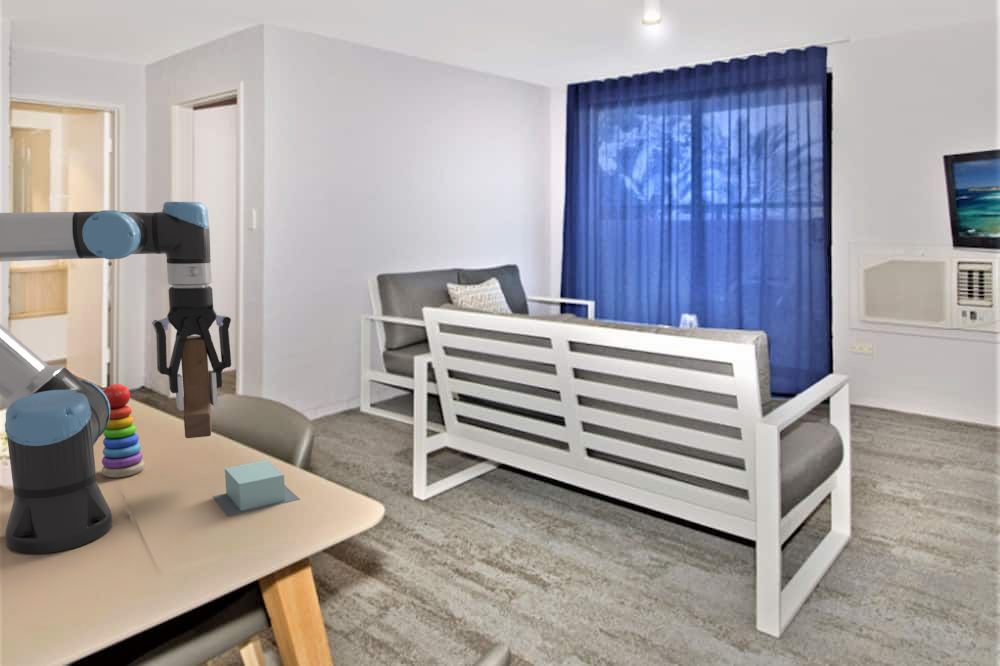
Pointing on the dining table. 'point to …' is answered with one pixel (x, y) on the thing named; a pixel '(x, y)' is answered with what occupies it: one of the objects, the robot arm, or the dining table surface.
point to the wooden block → (196, 388)
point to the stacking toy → (120, 436)
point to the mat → (233, 509)
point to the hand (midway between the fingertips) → (197, 406)
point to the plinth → (254, 484)
